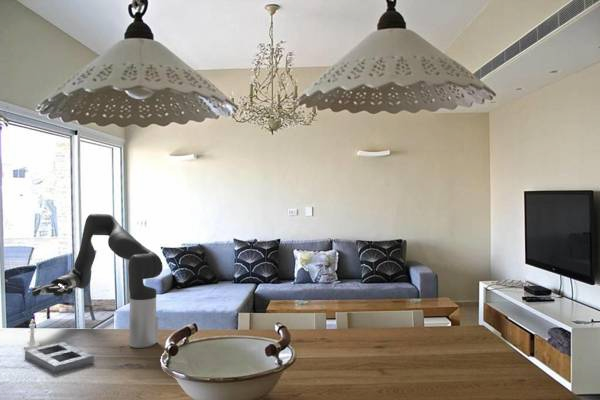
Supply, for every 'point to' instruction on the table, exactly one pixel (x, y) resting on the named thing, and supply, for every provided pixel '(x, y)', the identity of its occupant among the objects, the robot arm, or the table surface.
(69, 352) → the grey two-window frame
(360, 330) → the table surface
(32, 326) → the chess piece
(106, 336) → the table surface
